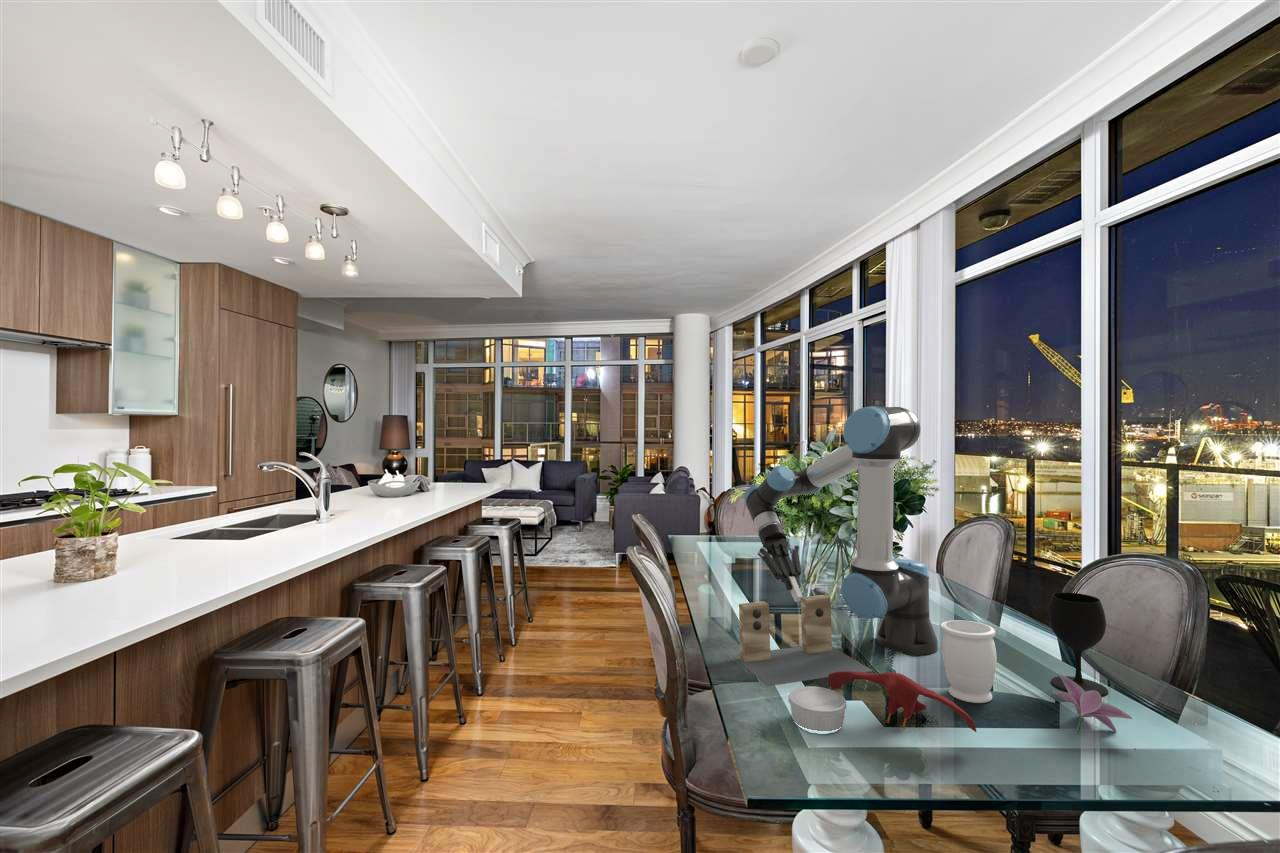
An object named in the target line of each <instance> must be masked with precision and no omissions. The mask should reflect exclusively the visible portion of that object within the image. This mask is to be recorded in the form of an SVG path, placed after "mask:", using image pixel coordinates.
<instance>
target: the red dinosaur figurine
mask: <svg viewBox="0 0 1280 853" xmlns="http://www.w3.org/2000/svg"><path fill="white" fill-rule="evenodd" d="M855 680H865V681H870V682H872V683H875V684H878V685H881V686H883V687H884V689H885V691H886V692H885V693H886V695H887V696H888V704H887V712H888V717H887V720H883V721H884V722H886V723H887V724H888V725H890V724H891V722H890V720H891V716H892V715H894V714H895V713H896V712H897V710H898V709H900V708H902V709H903V717H904V720H903V723H902V725H900V727H901V728H902V729H906V723H907V720H909V719H911V717H912V714H917V715H921V713H920V712H923V710H925V711H926V709H927V708H928V707H927V705H925V704H923V703H922V702H920V701H919V700H918V697H919V696H922V697H924V698H928V699H931V700H933V701H937V702H939V703H941V704H943V705H945V706H946V707H948V708H950V709H951V711H954V712H955V713H956V714H957V715H958V716H960V717H961V719H962V720H963V721H965V722H966V724H967V726H968V728H969V729H971V730H972V731H973V732H975V733H977V731H978V730H977V727H976V725H975V722H974V721H973V719H972V718H971V716H969V714H968V713H967V712H966V711H965V710H963V709H962V708H961V707H960V706H959V705H957V704H956V703H955V702H953V701H951V700H950V699H948V698H947V697H946V696H943V695H942V694H939V693H937V692H935V691H934V690H932V689H929V688H928V687H927V688H926V687H923V685H921V684H920V683H917V682H916V681H914V680H913V679H911V678H910V677H907V676H906V675H904V674H903V673H900V672H894V671H893V672H891V671H889V672H882V673H880V672H879V673H875V672H874V673H873V672H872V673H870V672H854V671H840V672H834V673H831V674H829V675H828V677H827V682H828V684H829V687H830V689H831V690H842V688H843V687H842V686H848V684H849V682H851V683H853V682H855Z"/></svg>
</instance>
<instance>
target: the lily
mask: <svg viewBox="0 0 1280 853" xmlns="http://www.w3.org/2000/svg"><path fill="white" fill-rule="evenodd" d="M1058 676H1060V678H1061V679H1062V681H1063V683H1064V684H1065V686H1066V688H1067V690H1068V692H1069V693H1068V692H1065V691H1062V690H1060V691H1058V690H1056V691H1055V690H1054V691H1052V693H1053V694H1054V695H1056V696H1058V697H1060V698H1062V699H1064V700H1066V701H1067V702H1069V703H1071V704H1072V705H1074V708H1075V711H1076V714H1077V716H1078V717H1079V718H1078V722H1077V727H1076V733H1075V734H1076V736H1077V735H1079V732H1080V731H1079V730H1080V727H1081V721H1082V718H1083V719H1084V718H1095V719H1097V720H1098V721H1100V722H1101V723H1102V724H1104V725H1105V726H1106V727H1107V728H1109V729H1110V730H1112V731H1113V732H1115V733H1117V729H1116V726H1115V725H1114V723H1113V721H1112V720H1111V718H1121V719H1129V720H1132V719H1133V717H1132V716H1131V715H1130V714H1128V713H1127V712H1125V711H1123V710H1122V709H1120V708H1119V707H1117V706H1114V705H1112V704H1110V703H1107V702H1103V698H1102V697H1101V695H1100V694H1099V692H1098V691H1094V690H1093V691H1086V692H1085V691H1084V690H1083V689H1082V688H1081V687H1080V686H1079V685H1078V684H1076V683H1075V682H1073V681H1072V680H1070V679H1069V678H1067V677H1065V676H1066V675H1063V674H1061V673H1058Z"/></svg>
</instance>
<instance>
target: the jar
mask: <svg viewBox="0 0 1280 853" xmlns="http://www.w3.org/2000/svg"><path fill="white" fill-rule="evenodd" d="M941 630H942V631H943V632H944V633H943V637H942V642H941V653H942V659H943V665H944V670H945V671H944V672H945V675H946V677H947V681H948V682H949V685H950V686H949V688H948V693H949V694H950V695H951V696H952V697H953V698H955V699H958V700H960V701H963V702H966V703H972V704H985V703H989V702H991V701H992V699H993V694H992V693H991V690H992V688H993V685H994V682H995V674H996V671H997V649H996V645H995V641H994V637H995V636H996V629H995V628H994V627H992V626H991V625H989V624H986V623H982V622H978V621H971V620H964V619H963V620H961V619H958V620H957V619H956V620H955V619H954V620H946V621H944V622H942V623H941Z"/></svg>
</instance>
